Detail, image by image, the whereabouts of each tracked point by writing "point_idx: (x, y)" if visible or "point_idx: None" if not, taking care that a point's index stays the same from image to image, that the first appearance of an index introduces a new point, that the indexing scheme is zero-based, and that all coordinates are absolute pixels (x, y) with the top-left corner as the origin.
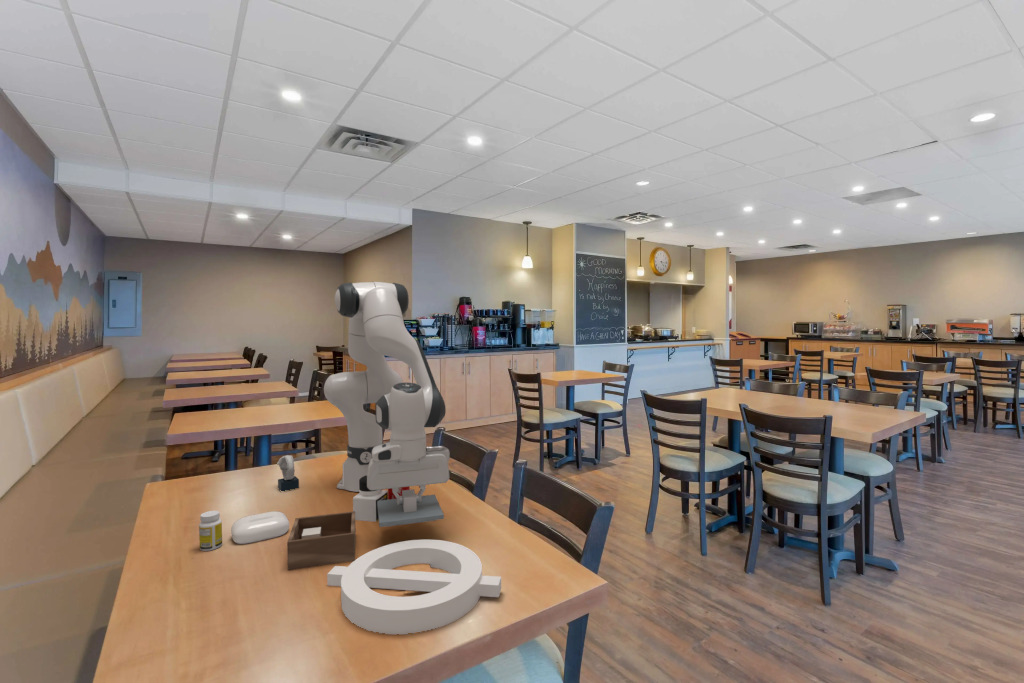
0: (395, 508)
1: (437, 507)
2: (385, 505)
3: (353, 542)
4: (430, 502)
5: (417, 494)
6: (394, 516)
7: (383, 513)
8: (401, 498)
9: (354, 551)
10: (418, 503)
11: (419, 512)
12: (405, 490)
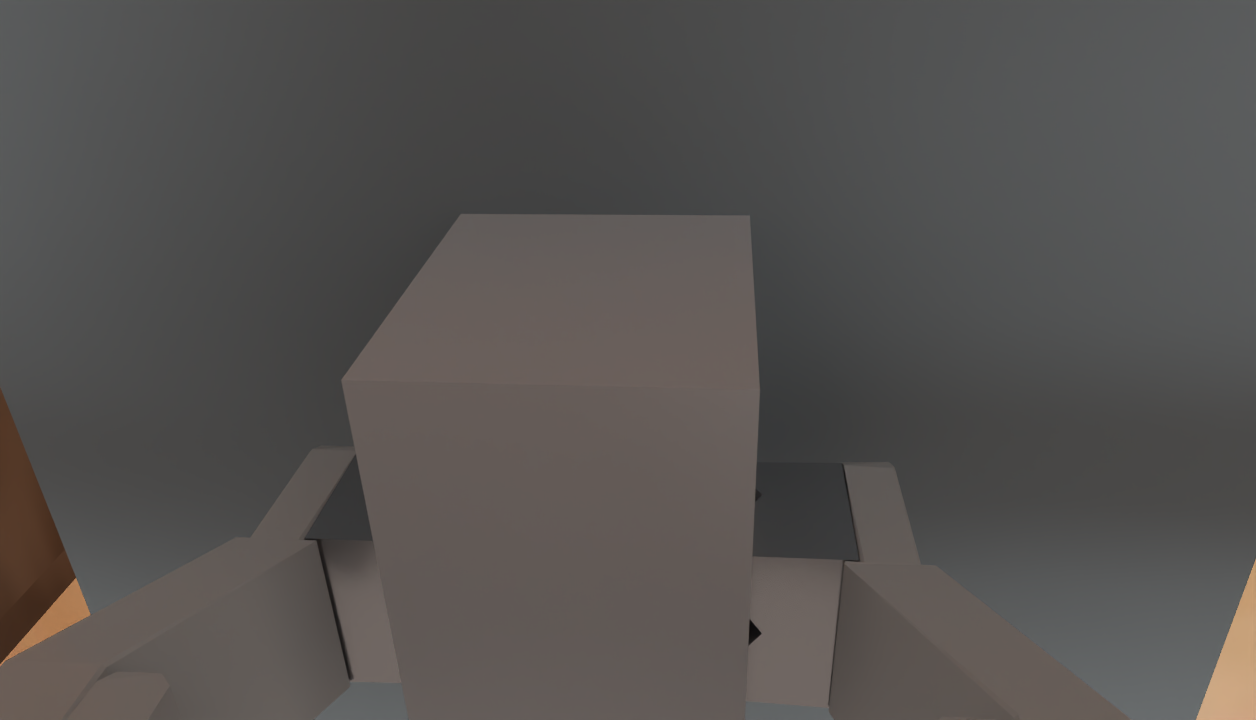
0: (334, 419)
1: (1167, 620)
2: (78, 172)
3: (3, 646)
4: (1141, 324)
5: (822, 597)
6: (359, 717)
7: (150, 565)
8: (392, 676)
9: (73, 577)
10: (846, 292)
11: (775, 708)
12: (461, 403)
